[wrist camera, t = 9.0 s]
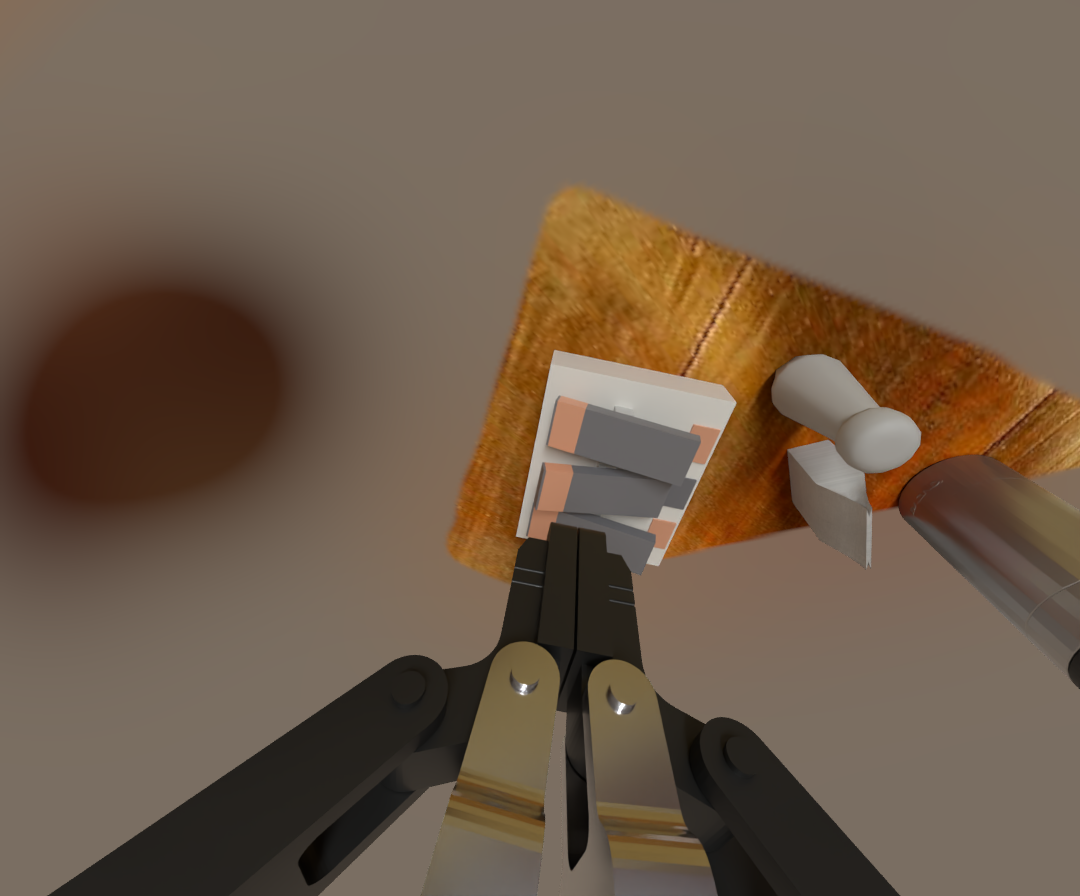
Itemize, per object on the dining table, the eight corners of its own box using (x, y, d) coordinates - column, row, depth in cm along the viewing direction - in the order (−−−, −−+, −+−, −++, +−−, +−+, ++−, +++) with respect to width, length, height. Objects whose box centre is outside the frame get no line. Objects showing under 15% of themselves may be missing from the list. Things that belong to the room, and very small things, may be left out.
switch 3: (655, 534, 38) (655, 543, 37) (641, 566, 41) (640, 575, 39) (536, 495, 40) (533, 502, 39) (529, 528, 42) (525, 535, 41)
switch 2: (668, 473, 37) (673, 481, 36) (653, 509, 40) (657, 518, 39) (542, 462, 35) (544, 470, 34) (533, 501, 37) (535, 509, 36)
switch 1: (700, 435, 33) (701, 442, 32) (680, 479, 35) (680, 487, 34) (559, 394, 34) (555, 400, 33) (549, 439, 37) (545, 445, 36)
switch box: (722, 385, 37) (742, 409, 33) (653, 540, 48) (660, 575, 43) (554, 349, 37) (549, 369, 33) (521, 513, 48) (514, 545, 43)
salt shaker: (832, 398, 37) (938, 478, 26) (765, 414, 38) (838, 497, 27) (831, 337, 34) (949, 397, 23) (759, 357, 36) (837, 423, 25)
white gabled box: (792, 501, 43) (843, 573, 34) (787, 449, 40) (841, 513, 32) (830, 493, 42) (892, 565, 34) (828, 439, 39) (896, 503, 31)
